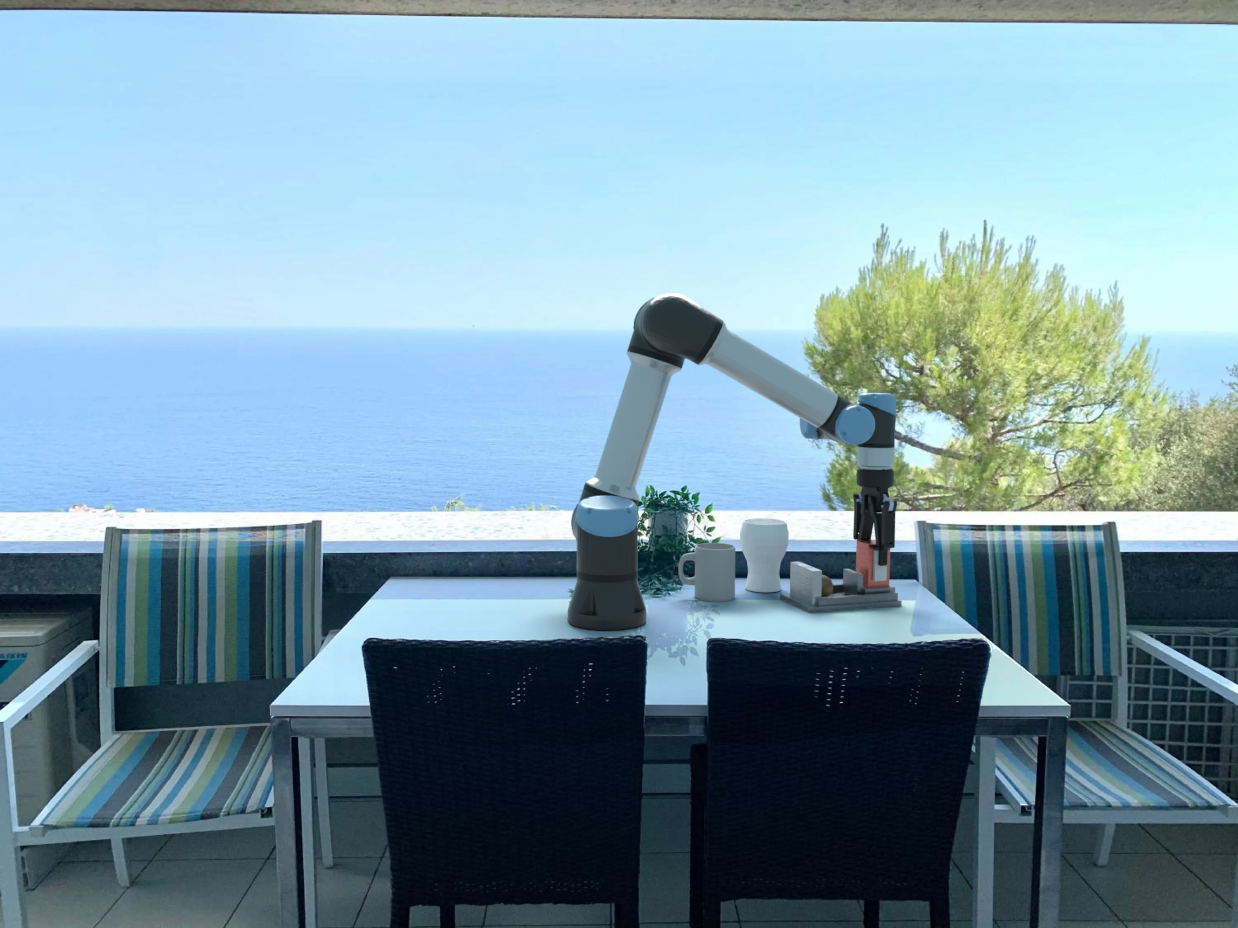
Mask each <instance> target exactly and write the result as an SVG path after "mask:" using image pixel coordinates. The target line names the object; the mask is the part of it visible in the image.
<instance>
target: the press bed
mask: <svg viewBox="0 0 1238 928" xmlns="http://www.w3.org/2000/svg"><path fill="white" fill-rule="evenodd" d="M789 568H790V573H789V581H790V582H789V592H787V593H780V594H779V598H780V600H783V601H784V602H787V604H788V603H789V604H790V605H793V606H795V607H796V608H799V609H801V610H803V611H805V612H807V613H821V612H833V611H834V612H835V611H836V612H837V611H847V610H850V611H852V610H863V609H877V608H889V607H893V608H894V607H902V604H903V603H902V602H903V601H902V600H900V599H898V598H899V595H898V594H899V593H898V592H896V591H895V592H892V593H877V594H862V595H848V594H846V593H843V583H833V591H832V593H831V595H830V596H829V597H821V591H822V575H823V570H821V569H819V568H816V567H814V566H811V565H809V564H806V563H804V562H802V561H790V567H789Z"/></svg>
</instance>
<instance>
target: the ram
mask: <svg viewBox="0 0 1238 928" xmlns="http://www.w3.org/2000/svg"><path fill="white" fill-rule="evenodd" d="M875 547H876V539H871V540H859V541H857V540H856V553H855V558H856V559H855V570H854V569H850V568H843V570H842V571H843V572H842V573H843V574H842V576H843V577H842V584H843V593H846V594H848V595H862V594H877V593H892V592H896V587H894V586H893V585H890V570H891V567H890V566H891V548H890V549H889V550H888V556H887V579H886V581H873V562H874V549H873V548H875Z"/></svg>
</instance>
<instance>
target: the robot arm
mask: <svg viewBox="0 0 1238 928" xmlns="http://www.w3.org/2000/svg"><path fill="white" fill-rule="evenodd" d="M632 328H633V331H632V335H631V338H630V341H629V345H628V348H627V351H626V355H627V357H628V358H629V361H630V365H629V369H628V373H627V375H626V379H625V381H624V384H623V388H622V390H621V393H620V397H619V400H618V402H617V407H616V409H615V413H614V416H613V419H612V422H611V425H610V429H609V432H608V434H607V438H606V441H605V443H604V447H603V450H602V453H601V457H600V460H599V463H598V465H597V466H598V467H597V470H596V472H595V474H594V476H593V477H590V478H589V479H586V481H585V482H584V485H583V489H582V492H581V495H580V498H579V501H578V503H577V504H576V505H575V508H574V509H573V512H572V515H571V519H570V527H571V530H572V534H573V537H574V538H575V540H576V582H575V586H574V589H573V593H572V595H571V599H570V602H569V604H568V608H567V623H568V624H570V625H571V626H574V627H578V628H581V629H587V630H599V631H618V630H627V629H634V628H637V627H640V626H643V625H644V624H645V623H646V622H647V607H646V605H645V601H644V597H643V595H642V591H641V589H640V585H639V581H638V569H639V568H638V560H639V559H638V558H639V557H638V552H639V551H638V542H639V541H638V540H639V539H638V538H639V537H638V533H639V532H638V528H639V527H638V525H639V521H640V516H639V513H638V506H639V503H640V499H641V498H640V495H639V494H638V492H637V488H636V487H637V486H638V482H639V478H640V476H641V472H642V468H643V465H644V463H645V459H646V457H647V453H648V449H649V448H650V443H651V442H652V441H651V440H652V437H653V434H654V431H655V428H656V425H657V423H658V419H659V416H660V413H661V410H662V407H663V405H664V401H665V398H666V394H667V391H668V389H669V384H670V381H671V379H672V376H674V375H675V374H677V373H679V372H681V371H682V369H683V365H684V364H685V360H688V361H690V362H692V363H694V364H696V365H697V366H702V365H708V366H709V367H711V368H713V369H715V370H717V371H718V372H719V373H721V374H724V375H726V376H727V377H729V378H730V379H732V380H734V381H735V382H737V383H739V384H741V385H743V386H744V387H745V388H748V389H749V390H751V391H753V392H755V393H757V394H758V395H760V396H761V397H763V398H765V399H767V400H768V401H770V402H772V403H773V404H776V405H777V406H778V407H781V408H782V409H784V410H785V411H788V412H789V413H791V414H793V415H794V416H797V418H799V429H800V432H801V435H802V436H803V438H804V439H807V440H809V439H810V440H817V441H818V440H829V441H834V442H839V443H843V444H845V445H847V446H854V445H855V446H856V445H857V448H856V449H857V452H856V465H857V466H859V467H858V468H857V469H856V485H857V487H858V486H859V487H861V489H860V493H854V494H853V496H852V498H853V499H852V500H853V505H854V506H853V507H854V508H853V529H852V530H853V533H852V536H853V537H852V538H853V540H856V542H857V541H859V540H872V536H873V530H874V536H875V539H874V540H876V547H875V548H873V549H874V562H873V581H886V579H887V556H888V550H889V549H890V550H891V549H894V548H895V546H896V512H897V511H896V510H897V506H898V502H897V500H892V499H891V498H890V493H889V488H891V487H893V486H894V483H895V470H894V469H893V468H892V467H894V466H895V454H896V453H895V439H896V422H897V421H896V420H897V419H896V418H897V405H896V397H895V395H894V394H893V393H889V392H862V393H860V394H859V395H858V400H857V401H855V402H851V401H850V400H848V399H846V398H844V397H843V396H840V395H838V394H837V393H836V392H834V391H832V390H831V389H829V388H827V387H825V386H824V385H822V384H821V383H819V382H818V381H815V380H814V379H812V378H810V377H809V376H807V375H805V374H804V373H802V372H801V371H798V370H797V369H795V368H794V367H792V366H790V365H788V364H786V363H785V362H783V361H782V360H780V359H778V358H776V357H775V356H773V355H772V354H770V353H768V352H766V351H765V350H763V349H761V348H759V347H758V346H756V345H754V344H753V343H751V342H749V341H747V340H746V339H744V338H743V337H741V336H739V335H738V334H736V333H734V332H732V331H731V330H729V329H728V328H727V324H726V322H725V320H723V319H721V318H720V317H718V316H716V315H715V314H714V313H712V312H710V311H709V310H707V309H706V308H704V307H703V306H702V305H700V304H699V303H697V302H696V301H694V300H693V299H691V298H690V297H688V296H686V295H684V294H681V293H678V292H667V293H663V294H660V295H658V296H655V297H652V298H650V299H649V300H647V301H646V302H644V303H643V304H642V306H641V307H639V309H638V310H637V312H636V315H635V316H634V319H633V327H632Z"/></svg>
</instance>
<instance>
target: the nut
mask: <svg viewBox="0 0 1238 928" xmlns="http://www.w3.org/2000/svg"><path fill="white" fill-rule="evenodd" d="M833 584H834V583H833V581H832V579H831V578H830V577H828V576H827V575H825V574H822V591H821V597H829V596H830V595H831V593H832V591H833Z"/></svg>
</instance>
